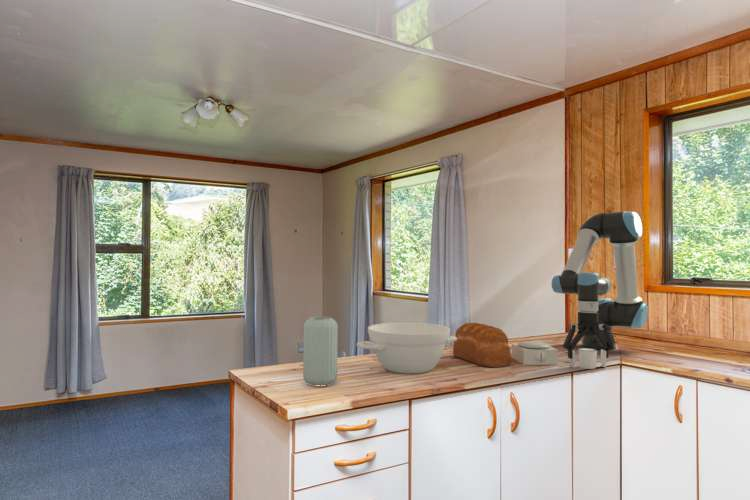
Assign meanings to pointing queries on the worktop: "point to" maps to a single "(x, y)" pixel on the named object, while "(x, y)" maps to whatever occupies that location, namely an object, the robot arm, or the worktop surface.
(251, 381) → the worktop surface
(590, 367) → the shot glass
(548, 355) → the kitchen scale
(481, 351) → the bread
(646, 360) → the worktop surface
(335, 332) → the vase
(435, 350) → the pot
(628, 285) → the robot arm
